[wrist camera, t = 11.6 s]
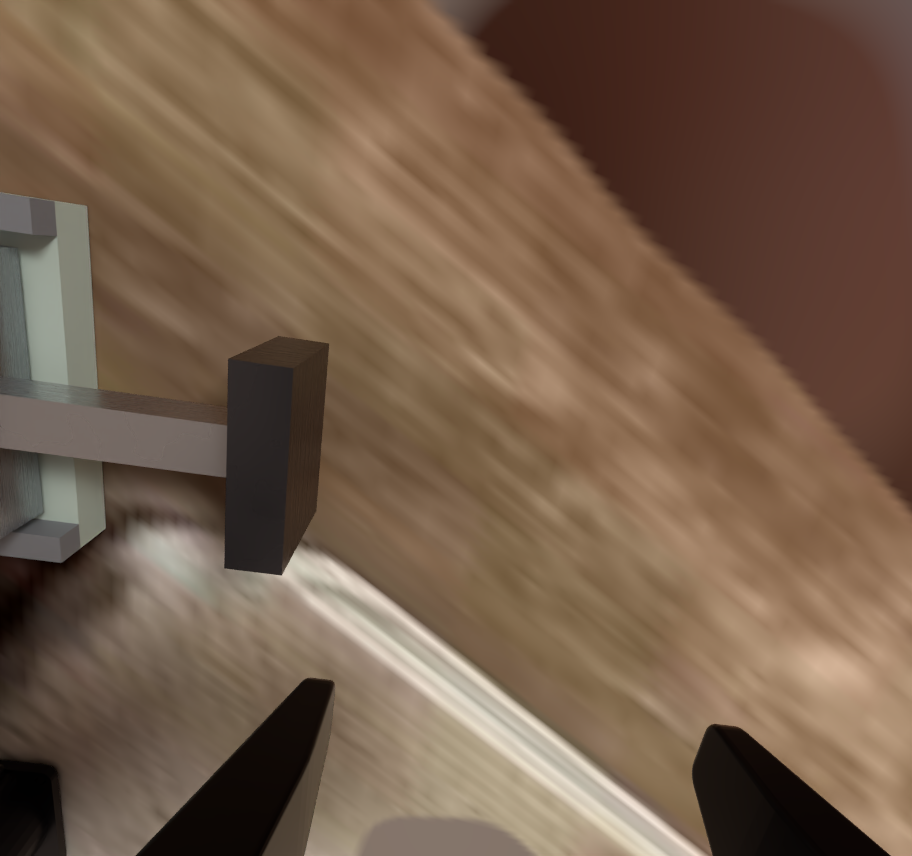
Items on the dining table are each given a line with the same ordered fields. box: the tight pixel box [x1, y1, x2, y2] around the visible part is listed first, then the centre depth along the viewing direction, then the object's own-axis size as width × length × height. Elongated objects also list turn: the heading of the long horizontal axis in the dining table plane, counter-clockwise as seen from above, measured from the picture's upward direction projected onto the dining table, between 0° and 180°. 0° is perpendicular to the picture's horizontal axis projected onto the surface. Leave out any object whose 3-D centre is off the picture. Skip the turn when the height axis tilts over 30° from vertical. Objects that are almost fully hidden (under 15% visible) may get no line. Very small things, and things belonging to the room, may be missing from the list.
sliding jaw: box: [0, 245, 329, 575], centre depth 16 cm, size 9×12×4 cm
